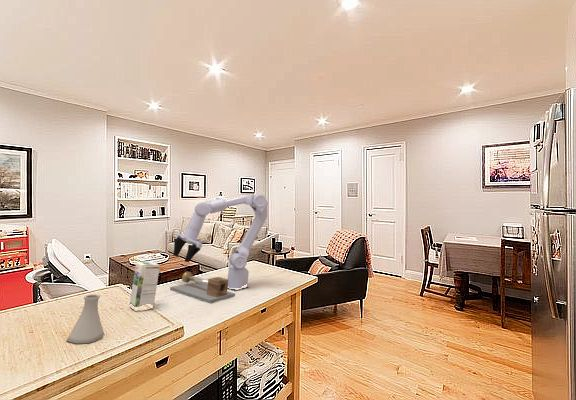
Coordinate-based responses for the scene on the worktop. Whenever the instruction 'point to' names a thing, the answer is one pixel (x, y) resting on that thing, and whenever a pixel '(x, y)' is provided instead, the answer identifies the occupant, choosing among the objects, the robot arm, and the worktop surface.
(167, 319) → the worktop surface
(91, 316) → the flask
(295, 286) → the worktop surface
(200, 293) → the base board
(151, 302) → the syrup box
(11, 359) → the worktop surface
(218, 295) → the block
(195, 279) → the shaft
